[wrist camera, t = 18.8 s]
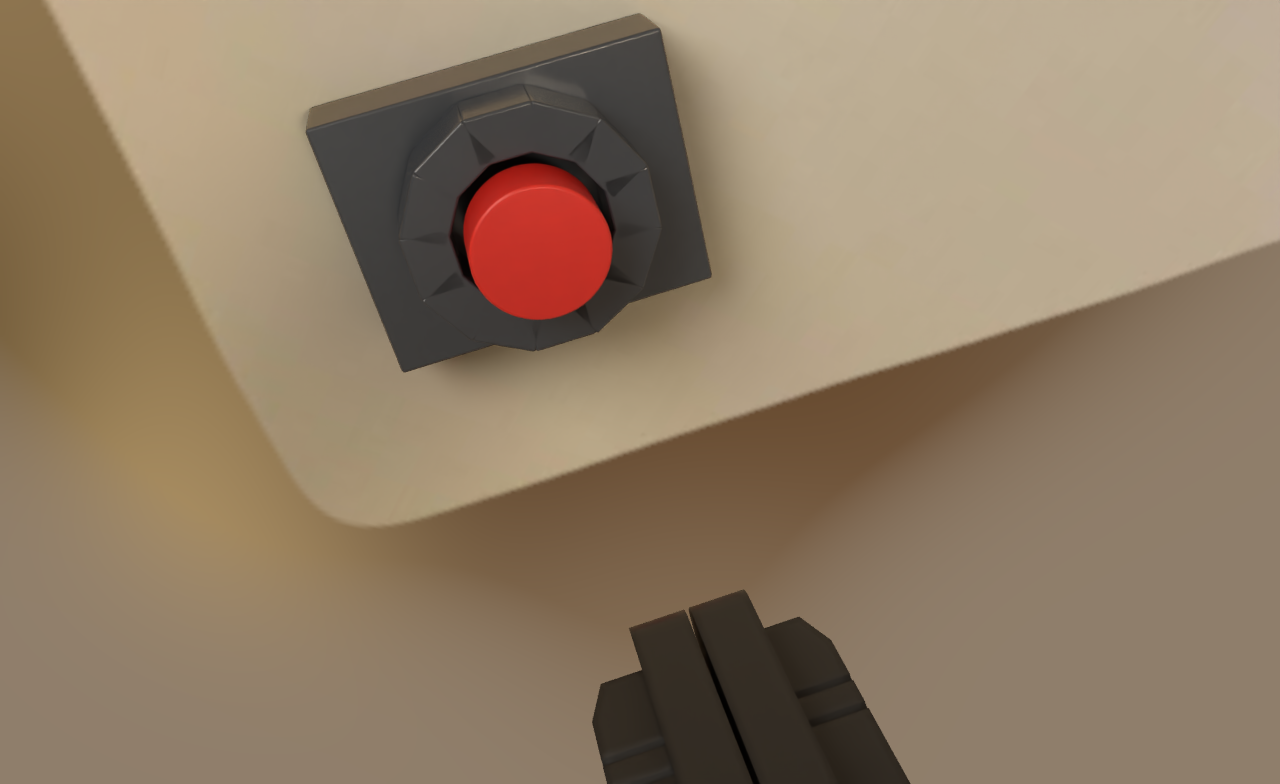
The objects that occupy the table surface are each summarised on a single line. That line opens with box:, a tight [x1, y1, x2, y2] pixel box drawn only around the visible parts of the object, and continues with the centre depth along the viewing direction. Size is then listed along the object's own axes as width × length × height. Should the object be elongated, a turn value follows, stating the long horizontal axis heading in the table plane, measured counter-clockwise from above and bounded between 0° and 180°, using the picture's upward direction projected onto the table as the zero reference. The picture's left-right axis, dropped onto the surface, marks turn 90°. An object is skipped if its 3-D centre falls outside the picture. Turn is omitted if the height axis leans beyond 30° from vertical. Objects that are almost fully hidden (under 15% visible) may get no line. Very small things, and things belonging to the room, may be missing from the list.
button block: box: [306, 14, 712, 372], centre depth 27 cm, size 9×7×4 cm
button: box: [463, 163, 613, 320], centre depth 25 cm, size 3×3×2 cm
